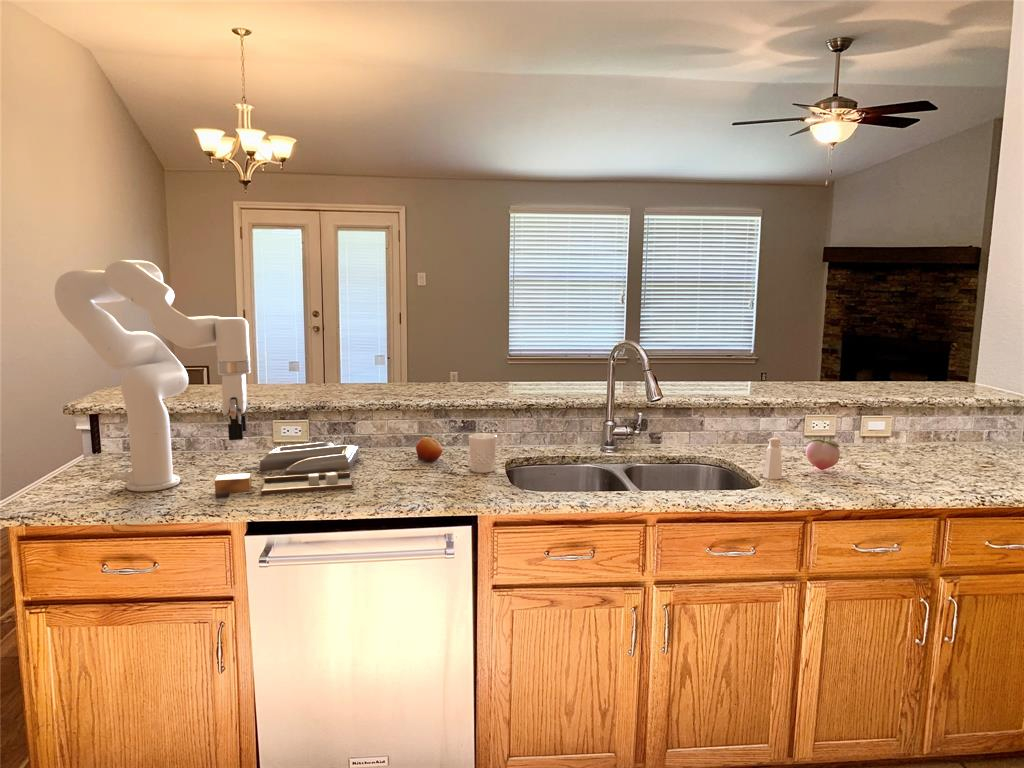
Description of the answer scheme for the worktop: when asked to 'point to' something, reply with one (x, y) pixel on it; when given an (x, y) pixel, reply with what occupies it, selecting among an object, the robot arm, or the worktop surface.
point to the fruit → (428, 449)
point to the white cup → (482, 452)
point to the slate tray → (303, 483)
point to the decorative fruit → (822, 453)
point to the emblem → (310, 458)
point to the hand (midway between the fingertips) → (237, 435)
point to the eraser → (231, 484)
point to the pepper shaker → (773, 460)
